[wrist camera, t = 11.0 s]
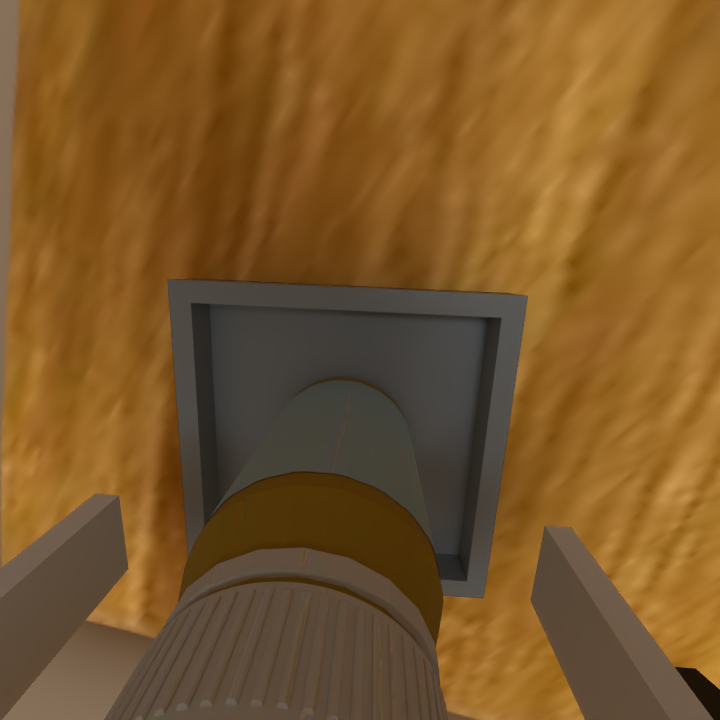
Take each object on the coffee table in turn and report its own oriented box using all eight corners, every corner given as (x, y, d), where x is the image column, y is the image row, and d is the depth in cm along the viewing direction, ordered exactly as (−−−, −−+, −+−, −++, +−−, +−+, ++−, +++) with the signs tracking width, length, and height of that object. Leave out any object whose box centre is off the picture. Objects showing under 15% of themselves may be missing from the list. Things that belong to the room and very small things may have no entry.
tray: (194, 278, 19) (167, 279, 16) (507, 293, 18) (527, 295, 16) (209, 544, 23) (189, 577, 20) (471, 562, 22) (483, 598, 20)
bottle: (279, 488, 21) (52, 991, 6) (281, 368, 19) (-18, 667, 5) (402, 498, 21) (467, 1042, 6) (414, 379, 19) (545, 723, 4)
